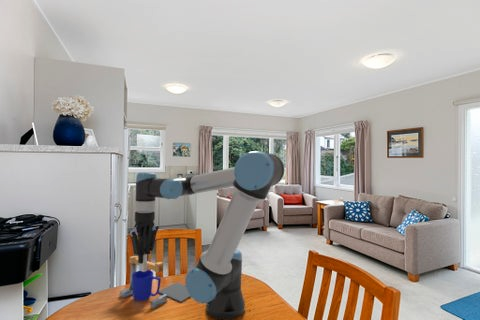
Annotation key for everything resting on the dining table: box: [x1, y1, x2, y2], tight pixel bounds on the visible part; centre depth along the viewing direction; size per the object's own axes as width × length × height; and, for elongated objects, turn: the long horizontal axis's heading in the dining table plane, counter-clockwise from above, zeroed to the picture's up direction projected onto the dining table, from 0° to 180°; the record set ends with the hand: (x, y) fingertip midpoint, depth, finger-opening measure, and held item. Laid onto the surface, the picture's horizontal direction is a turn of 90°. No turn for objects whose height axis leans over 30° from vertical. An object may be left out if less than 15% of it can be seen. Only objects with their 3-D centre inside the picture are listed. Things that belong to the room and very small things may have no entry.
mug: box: [132, 269, 162, 302], centre depth 108 cm, size 8×12×10 cm
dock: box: [119, 263, 168, 310], centre depth 108 cm, size 19×10×12 cm, turn 58°
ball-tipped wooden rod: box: [128, 255, 164, 273], centre depth 109 cm, size 19×4×3 cm, turn 58°
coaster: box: [158, 281, 192, 304], centre depth 114 cm, size 14×11×1 cm
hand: (142, 270), depth 103 cm, fingers closed
